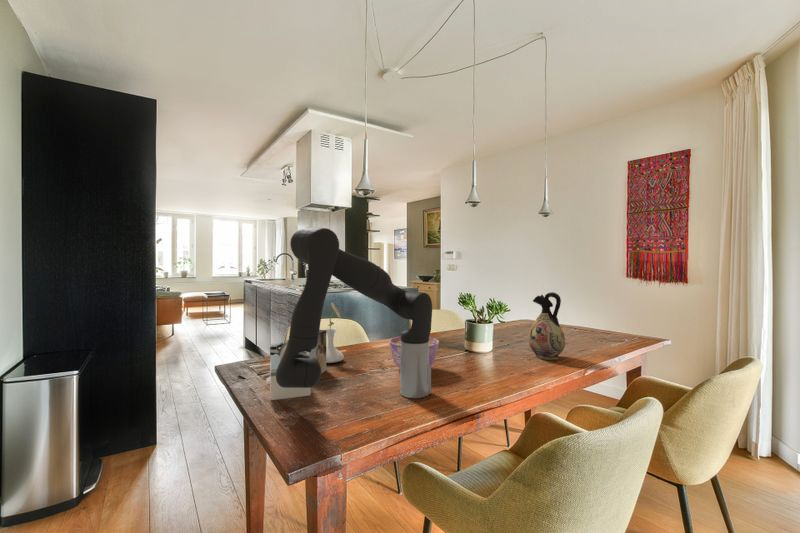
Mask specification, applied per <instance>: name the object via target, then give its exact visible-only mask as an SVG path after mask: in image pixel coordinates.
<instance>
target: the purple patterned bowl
mask: <svg viewBox="0 0 800 533" xmlns="http://www.w3.org/2000/svg"><path fill="white" fill-rule="evenodd" d="M388 340H389V341H388V342H389V346H390V352H391V356H392V360H393V362H394V364H395V365H396V367H398V368H400V360H401V335H399V336H396V337H392V338H390V339H388ZM439 344H440V340H439V339H437V338H434V337H431V336H429V364H430V365H431V367H432V366H433V364H434V362H435V361H436V357H437V353H438V350H439V347H440V346H439Z"/></svg>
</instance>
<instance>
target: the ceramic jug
mask: <svg viewBox="0 0 800 533" xmlns="http://www.w3.org/2000/svg"><path fill="white" fill-rule="evenodd" d="M550 298H554V299H555V302H556V303H555V307H554V310H553V313H552V311H551V308H552V307H553V306H554V305H553V304H554V303H553V302H552V301H551V300H550ZM532 302H533V303H535V304H538V305H539V306H541V312H540V313H539V315H538V316H537V317H536V320H535V321H534V322H533V324H532V326H531V327H530V330H529V334H528V344H529V347H530V349H531V350H532V352H533V353H534V354H535V358H536V359H541V360H546V361H547V360H549V361H554V360H555V361H556V360H559V355H560V354H562V352H563V351H564V349H565V347H566V337H565V333H564V331H563V329H562V327H561V325H560V323H559V319H558V314H559V310H560V307H561V304H562V299H561V296H560V295H559V294H558V293H556V292H553V291H552V292H548V293H546V294H545V295H543V294H541V295H537V296H536V297H534V298H533V300H532Z"/></svg>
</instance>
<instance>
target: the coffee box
mask: <svg viewBox="0 0 800 533" xmlns="http://www.w3.org/2000/svg"><path fill="white" fill-rule="evenodd" d="M326 348H327V333H326V330H325V329H319V336H318V343H317V346H316V348H314V349H312V350H311V352H309V355H310V356H312V357H314V358H316V359H317V360H318V362H319V364H320V367H321V375H323V373H324V372H326V371H327V363H326Z"/></svg>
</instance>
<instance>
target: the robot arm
mask: <svg viewBox="0 0 800 533" xmlns="http://www.w3.org/2000/svg"><path fill="white" fill-rule="evenodd" d="M290 238H291V239H290V250H291V252H292V254H293V256H294V257H295V258H296V259H297V260H298V261H300V262H301V263H304V264H307V265H308V266H307V267H308V268H307V269H308V270H307V277H306V281H305V285H304V287H303V290H302V292H301V294H300V296H299V298H298V300H297V302H296V304H295V306H294V309H293V312H292V315H291V320H290V326H289V327H290V328H289V333H288V339H287V340H286V341H284V342H280V343H275V344H276V345H273V346H271V347H270V346H269V355H274V354H277V355H279V357H280V359H279V360H280V363H279V365H278V368H277V371H276V381H277V383H278V385H279V386H281V387H284V388H310V387H311V388H313V387H315V386H316V385H318V383H319V382H320V380H321V376H322V374H321V367H320V364H319V362H318V360H317V359H316V358H314V357H312V356H310V355H308V354H307V352H311V350H312V349H314V348H316V346H317V343H318V336H319V330H321V329H320V328H321V321H322V315H323V308H324V305H325V301H326V296H327V294H328V290H329V287H330V283H331V280H332V277H333V278H336V279H337V280H339V281H340V282H341V283H344V285H347V286H348V287H350V288H351V289H352V290H355V291H356V292H358V293H360V294H361V295H363V296H365V297H367V298H369V299H371V300H373V301H375V302H377V303H379V304H382V305H383V306H386V307H387V308H388V309H390V310H391V311H392V312H393V313H395V314H396V315H398V316H399V317H400V318H402V319H405V320H410V321H411V326H410V328H409V329H406V330H403V331H401V333H400V336H401V360H400V367H399V369H400V370H399V372H400V374H399V375H400V376H399V377H400V380H399V388H400V391H399V392H400V395H401V396H402V397H404V398H409V399H422V397H423V398H426V397H427V396H430V395H429V394H431V395H432V366H431V365H430V364H429V337H430V335H431V332H432V321H433V320H432V318H433V302H432V298H431V296H430V295H429V294H428V293H427V292H421V291H412V290H411V291H410V290H405V289H402V288H400V287H398V286H397V285H395V284H394V283H393V280H392V279H391V276H390V275H389V273H388V272H387V271H385V270H384V269H383V268H381V266H378V265H377V264H375V263H374V262H372V261H370V260H368V259H366V258H363V257H360V256H358V255H355V254H353V253H349V252H347V251H346V250H345V251H344V250H342V248H341V249H340V241H339V238H338V236H337V234H336V233H335V231H333V230H331V229H330V228H328V227H327V228H326V227H311V226H310V227H303V228H300V229H298V230H297V231H295V232H294V233H293V235H292V236H291V237H290ZM425 396H426V397H425Z"/></svg>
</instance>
